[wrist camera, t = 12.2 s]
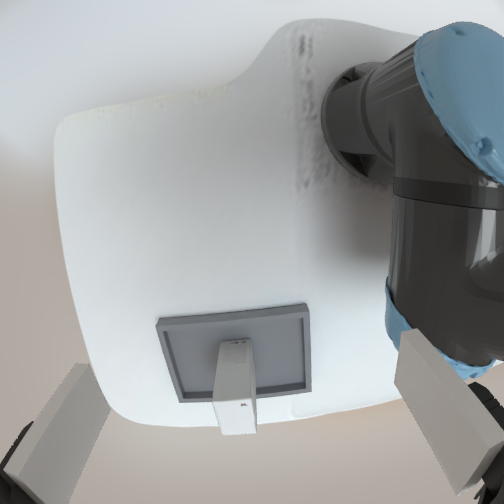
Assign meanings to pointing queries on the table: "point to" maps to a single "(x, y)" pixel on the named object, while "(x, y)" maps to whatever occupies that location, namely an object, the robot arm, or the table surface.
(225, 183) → the table surface
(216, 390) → the skincare box
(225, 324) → the tray
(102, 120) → the table surface
